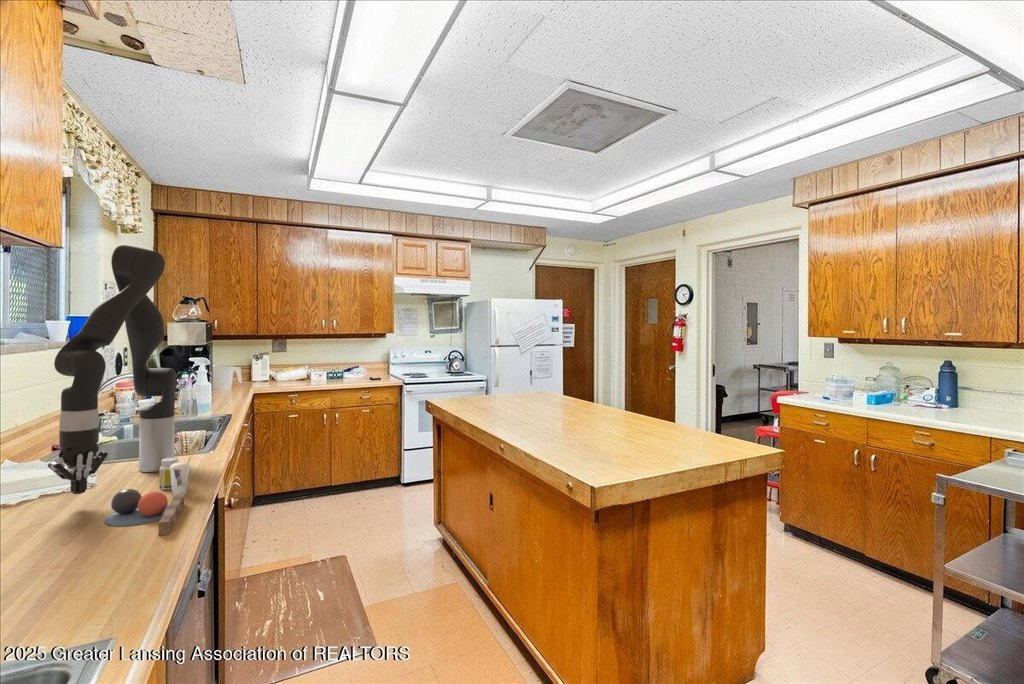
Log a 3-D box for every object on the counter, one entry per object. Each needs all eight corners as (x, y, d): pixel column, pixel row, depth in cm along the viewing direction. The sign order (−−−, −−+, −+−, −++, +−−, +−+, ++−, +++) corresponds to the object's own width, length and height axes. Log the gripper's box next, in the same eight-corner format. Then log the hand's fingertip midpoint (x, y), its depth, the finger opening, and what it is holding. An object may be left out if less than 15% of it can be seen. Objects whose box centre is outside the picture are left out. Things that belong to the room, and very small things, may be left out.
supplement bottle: (183, 485, 141) (183, 457, 141) (170, 490, 136) (170, 461, 136) (168, 484, 142) (168, 456, 141) (155, 489, 137) (155, 460, 137)
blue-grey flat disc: (128, 505, 125) (128, 504, 125) (186, 504, 127) (186, 503, 127) (89, 527, 111) (89, 526, 111) (155, 525, 113) (155, 524, 113)
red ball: (169, 514, 121) (147, 507, 122) (176, 492, 121) (155, 485, 122) (150, 523, 115) (128, 515, 116) (158, 499, 115) (136, 492, 116)
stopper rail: (175, 505, 126) (175, 494, 125) (184, 504, 126) (184, 493, 126) (158, 535, 108) (158, 522, 108) (169, 534, 108) (169, 521, 108)
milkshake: (195, 492, 136) (196, 457, 136) (177, 498, 131) (177, 462, 130) (184, 490, 137) (184, 455, 137) (165, 496, 132) (166, 460, 132)
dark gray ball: (126, 515, 122) (112, 496, 121) (150, 500, 124) (136, 481, 123) (116, 522, 116) (100, 502, 115) (141, 506, 118) (126, 486, 117)
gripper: (61, 433, 115) (61, 504, 115) (117, 423, 128) (116, 486, 128) (37, 430, 116) (37, 500, 117) (95, 420, 129) (94, 483, 130)
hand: (78, 493), depth 122 cm, fingers closed
